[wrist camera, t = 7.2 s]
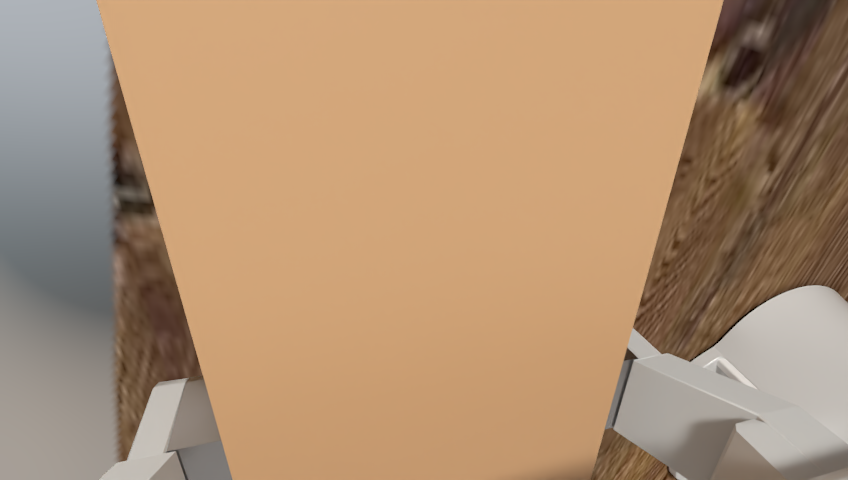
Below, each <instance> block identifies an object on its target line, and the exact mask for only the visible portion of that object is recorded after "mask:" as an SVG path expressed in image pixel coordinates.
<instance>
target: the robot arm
mask: <svg viewBox="0 0 848 480" xmlns="http://www.w3.org/2000/svg"><path fill="white" fill-rule="evenodd" d="M613 427H614V429H613V430H615V431H616V432H618V433H619V434H621V435H622V436H624V437H625V438H627V439H628V440H630V441H631V442H633V443H634V444H636V445H637V446H639V447H640V448H642V449H643V450H645V451H646V452H648V453H649V454H651V455H652V456H654V457H655V458H657V459H658V460H660V461H661V462H663V463H664V464H666V465H667V466H669V472H670V473H671V474H672V475H673V476H674V477H675V478H676V479H679V480H848V303H847V302H846V301H845V300H844V299H843V298H842V297H841V296H840V295H839V294H838V293H837V292H836V291H835V290H833V289H831V288H829V287H825V286H817V285H813V286H804V287H800V288H796V289H793V290H790V291H787V292H785V293H782V294H780V295H778V296H776V297H774V298H772V299H770V300H768V301H767V302H765V303H763V304H762V305H760V306H759V307H757V308H756V309H754V310H753V311H752V312H750V313H749V314H748V315H747V316H745V317H744V318H743V319H742V320H741V321H740V322H738V323H737V324H736V325H735V326H734V327H733V328H732V329H731V330H730V331H729V332H728V333H727V334H726V335H725V336H724V337H723V338H722V339H721V340H720V341H719V342H718V343H717V344H716V345H715V346H714V347H712V348H710V349H709V350H707V351H706V352H704V353H703V354H701V355H700V356H698V357H697V358H695V359H694V360H693V361H691V362H688V361H686V360H683V359H681V358H678V357H676V356H673V355H671V354H668V353H667V354H661V353H660V352H658V351H657V350H656V349H655V348H654V347H653V346H652V345H651V344H650V343H649V342H648V341H647V340H645V339H644V338H643V337H642V336H641V335H640V334H639V333H638V332H637V331H636V330H635V329H634V328H632V332H631V336H630V339H629V343H628V346H627V350H626V354H625V357H624V361H623V364H622V368H621V372H620V375H619V379H618V382H617V386H616V390H615V393H614V397H613V400H612V404H611V408H610V411H609V415H608V418H607V422H606V426H605V429H608V428H613ZM99 480H233V479H232V476H231V472H230V469H229V465H228V462H227V458H226V455H225V451H224V448H223V444H222V441H221V437H220V434H219V430H218V427H217V423H216V420H215V416H214V413H213V409H212V406H211V402H210V398H209V395H208V391H207V388H206V384H205V381H204V377H203V376H196V377H190V378H186V379H179V380H172V381H165V382H159V383H158V384H157V385H156V386H155V387H154V388H153V390H152V393H151V395H150V398H149V401H148V404H147V406H146V409H145V412H144V415H143V417H142V420H141V423H140V426H139V428H138V431H137V434H136V437H135V439H134V442H133V445H132V448H131V450H130V453H129V456H128V459H127V461H123V462H119V463H116V464H115V465H114V466H113V467H112V468H111V469H109V470H108V471H107V472H106V473H105V474H104V475H103V476H102V477H101V478H100V479H99Z"/></svg>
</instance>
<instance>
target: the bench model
mask: <svg viewBox="0 0 848 480" xmlns="http://www.w3.org/2000/svg"><path fill="white" fill-rule="evenodd" d="M97 4H98V7H99V11H100V14H101V18H102V21H103V25H104V29H105V32H106V36H107V39H108V43H109V46H110V50H111V53H112V57H113V60H114V64H115V67H116V71H117V74H118V78H119V81H120V85H121V88H122V92H123V95H124V99H125V103H126V106H127V110H128V113H129V117H130V120H131V124H132V127H133V131H134V134H135V138H136V141H137V145H138V148H139V152H140V155H141V159H142V162H143V166H144V169H145V173H146V177H147V180H148V184H149V187H150V191H151V194H152V198H153V201H154V205H155V208H156V212H157V215H158V219H159V222H160V226H161V229H162V233H163V236H164V240H165V243H166V247H167V250H168V254H169V258H170V261H171V265H172V268H173V272H174V275H175V279H176V282H177V286H178V289H179V293H180V296H181V300H182V303H183V307H184V310H185V314H186V317H187V321H188V324H189V328H190V332H191V335H192V339H193V342H194V346H195V349H196V353H197V356H198V360H199V363H200V367H201V370H202V374H203V377H204V381H205V384H206V388H207V391H208V395H209V398H210V402H211V406H212V409H213V413H214V416H215V420H216V423H217V427H218V430H219V434H220V437H221V441H222V444H223V448H224V451H225V455H226V458H227V462H228V465H229V469H230V472H231V476H232V479H233V480H591V476H592V473H593V469H594V465H595V462H596V458H597V455H598V451H599V447H600V444H601V440H602V436H603V433H604V429H605V426H606V422H607V418H608V415H609V411H610V408H611V404H612V400H613V397H614V393H615V390H616V386H617V382H618V379H619V375H620V372H621V368H622V364H623V361H624V357H625V354H626V350H627V346H628V343H629V339H630V336H631V332H632V328H633V325H634V321H635V318H636V314H637V310H638V307H639V303H640V300H641V296H642V292H643V289H644V285H645V282H646V278H647V274H648V271H649V267H650V264H651V260H652V256H653V253H654V249H655V245H656V242H657V238H658V235H659V231H660V227H661V224H662V220H663V217H664V213H665V209H666V206H667V202H668V199H669V195H670V191H671V188H672V184H673V181H674V177H675V173H676V170H677V166H678V163H679V159H680V155H681V152H682V148H683V145H684V141H685V137H686V134H687V130H688V127H689V123H690V119H691V116H692V112H693V109H694V105H695V101H696V98H697V94H698V91H699V87H700V83H701V80H702V76H703V73H704V69H705V65H706V62H707V58H708V54H709V51H710V47H711V44H712V40H713V36H714V33H715V29H716V26H717V22H718V18H719V15H720V11H721V8H722V4H723V0H97Z"/></svg>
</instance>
